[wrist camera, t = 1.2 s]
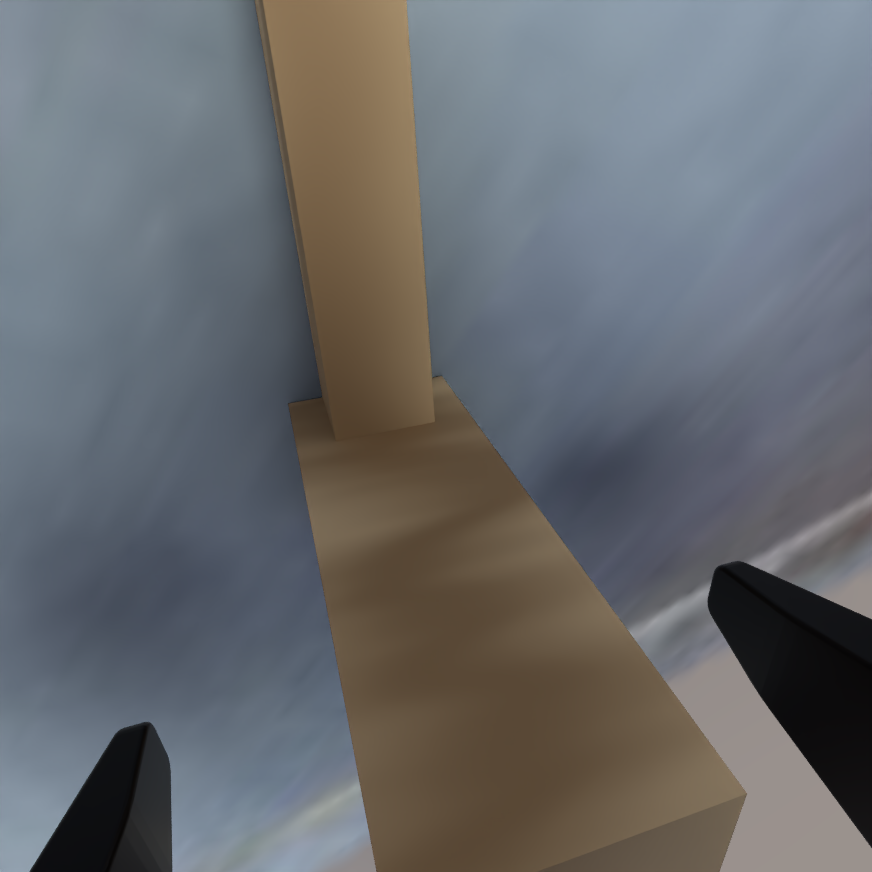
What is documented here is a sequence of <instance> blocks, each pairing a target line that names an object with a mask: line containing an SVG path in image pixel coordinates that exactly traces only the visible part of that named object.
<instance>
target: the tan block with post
mask: <svg viewBox="0 0 872 872" xmlns="http://www.w3.org/2000/svg"><path fill="white" fill-rule="evenodd" d="M255 6H256V12H257V17H258V23H259V29H260V35H261V41H262V47H263V53H264V58H265V64H266V70H267V76H268V82H269V88H270V93H271V99H272V105H273V111H274V117H275V123H276V129H277V134H278V140H279V146H280V152H281V158H282V164H283V169H284V175H285V181H286V187H287V193H288V199H289V205H290V210H291V216H292V222H293V228H294V234H295V240H296V245H297V251H298V257H299V263H300V269H301V275H302V281H303V286H304V292H305V298H306V304H307V310H308V316H309V321H310V327H311V333H312V339H313V345H314V351H315V357H316V362H317V368H318V374H319V380H320V386H321V392H322V398H316V399H311V400H305V401H300V402H294V403H289V404H288V406H289V411H290V416H291V421H292V427H293V432H294V437H295V443H296V448H297V453H298V458H299V464H300V469H301V474H302V480H303V485H304V490H305V495H306V501H307V506H308V511H309V517H310V522H311V527H312V532H313V538H314V543H315V548H316V554H317V559H318V564H319V570H320V575H321V580H322V585H323V591H324V596H325V601H326V607H327V612H328V617H329V622H330V628H331V633H332V638H333V644H334V649H335V654H336V659H337V665H338V670H339V675H340V681H341V686H342V691H343V696H344V702H345V707H346V712H347V718H348V723H349V728H350V733H351V739H352V744H353V749H354V755H355V760H356V765H357V770H358V776H359V781H360V786H361V792H362V797H363V802H364V807H365V813H366V818H367V823H368V829H369V834H370V839H371V844H372V850H373V855H374V860H375V865H376V871H377V872H719V871H720V868H721V865H722V863H723V860H724V857H725V854H726V852H727V849H728V846H729V843H730V840H731V838H732V835H733V832H734V829H735V826H736V823H737V821H738V818H739V815H740V812H741V809H742V806H743V804H744V801H745V798H746V795H747V793H746V791H745V790H744V789H743V787H742V786H741V785H740V783H739V782H738V781H737V779H736V778H735V776H734V775H733V774H732V772H731V771H730V770H729V769H728V767H727V766H726V764H725V763H724V761H723V760H722V759H721V757H720V756H719V755H718V753H717V752H716V750H715V749H714V748H713V746H712V745H711V744H710V742H709V741H708V740H707V738H706V737H705V736H704V734H703V733H702V731H701V730H700V728H699V727H698V726H697V724H696V723H695V722H694V720H693V719H692V718H691V716H690V715H689V713H688V712H687V711H686V709H685V708H684V707H683V705H682V704H681V702H680V701H679V700H678V698H677V697H676V696H675V694H674V693H673V692H672V690H671V689H670V687H669V686H668V685H667V683H666V682H665V681H664V679H663V678H662V676H661V675H660V674H659V672H658V671H657V670H656V668H655V667H654V666H653V664H652V663H651V661H650V660H649V659H648V657H647V656H646V655H645V653H644V652H643V650H642V649H641V648H640V646H639V645H638V644H637V642H636V641H635V640H634V638H633V637H632V635H631V634H630V633H629V631H628V630H627V629H626V627H625V626H624V624H623V623H622V622H621V620H620V619H619V618H618V616H617V615H616V614H615V612H614V611H613V609H612V608H611V607H610V605H609V604H608V603H607V601H606V600H605V599H604V597H603V596H602V594H601V593H600V592H599V590H598V589H597V588H596V586H595V585H594V583H593V582H592V581H591V579H590V578H589V577H588V575H587V574H586V573H585V571H584V570H583V568H582V567H581V566H580V564H579V563H578V562H577V560H576V559H575V557H574V556H573V555H572V553H571V552H570V551H569V549H568V548H567V547H566V545H565V544H564V542H563V541H562V540H561V538H560V537H559V536H558V534H557V533H556V531H555V530H554V529H553V527H552V526H551V525H550V523H549V522H548V521H547V519H546V518H545V516H544V515H543V514H542V512H541V511H540V510H539V508H538V507H537V505H536V504H535V503H534V501H533V500H532V499H531V497H530V496H529V495H528V493H527V492H526V490H525V489H524V488H523V486H522V485H521V484H520V482H519V481H518V479H517V478H516V477H515V475H514V474H513V473H512V471H511V470H510V469H509V467H508V466H507V464H506V463H505V462H504V460H503V459H502V458H501V456H500V455H499V453H498V452H497V451H496V449H495V448H494V447H493V445H492V444H491V443H490V441H489V440H488V438H487V437H486V436H485V434H484V433H483V432H482V430H481V429H480V427H479V426H478V425H477V423H476V422H475V421H474V419H473V418H472V417H471V415H470V414H469V412H468V411H467V410H466V408H465V407H464V406H463V404H462V403H461V401H460V400H459V399H458V397H457V396H456V395H455V393H454V392H453V391H452V389H451V388H450V386H449V385H448V384H447V382H446V381H445V380H444V378H443V377H442V376H439V377H433V378H432V371H431V356H430V342H429V327H428V312H427V298H426V283H425V268H424V253H423V239H422V224H421V209H420V195H419V180H418V165H417V151H416V136H415V121H414V106H413V92H412V77H411V62H410V48H409V33H408V18H407V3H406V0H255Z"/></svg>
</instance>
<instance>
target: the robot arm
mask: <svg viewBox="0 0 872 872" xmlns="http://www.w3.org/2000/svg"><path fill="white" fill-rule="evenodd" d="M708 608H709V611H710V614H711V616H712V618H713V619H714V621H715V623H716V624H717V626H718V628H719V629H720V631H721V633H722V634H723V636H724V638H725V639H726V641H727V643H728V644H729V646H730V648H731V649H732V651H733V653H734V654H735V656H736V658H737V659H738V661H739V662H740V664H741V666H742V668H743V669H744V671H745V672H746V674H747V676H748V678H749V679H750V681H751V683H752V684H753V685H754V687H755V689H756V690H757V692H758V693H759V695H760V696H761V698H762V699H763V701H764V702H765V703H766V705H767V706H768V708H769V709H770V711H771V712H772V713H773V715H774V716H775V717H776V719H777V720H778V721H779V723H780V724H781V726H782V727H783V728H784V730H785V731H786V732H787V734H788V735H789V736H790V738H791V739H792V740H793V742H794V743H795V744H796V746H797V747H798V748H799V750H800V751H801V753H802V754H803V755H804V757H805V758H806V759H807V761H808V762H809V764H810V765H811V766H812V768H813V769H814V770H815V772H816V773H817V774H818V776H819V777H820V778H821V780H822V781H823V782H824V784H825V785H826V786H827V788H828V789H829V791H830V792H831V793H832V795H833V796H834V797H835V799H836V800H837V801H838V803H839V804H840V806H841V807H842V808H843V809H844V811H845V812H846V814H847V815H848V816H849V818H850V819H851V821H852V822H853V823H854V825H855V826H856V827H857V829H858V830H859V831H860V833H861V834H862V835H863V837H864V838H865V839H866V841H867V842H868V843H869V845H870V846H871V848H872V619H870V618H868V617H865V616H863V615H861V614H859V613H857V612H854V611H852V610H850V609H847V608H845V607H843V606H841V605H839V604H836V603H834V602H832V601H830V600H827V599H825V598H823V597H821V596H819V595H816V594H814V593H812V592H810V591H807V590H805V589H803V588H801V587H798V586H796V585H794V584H792V583H789V582H787V581H785V580H783V579H781V578H778V577H776V576H774V575H772V574H769V573H767V572H765V571H763V570H760V569H758V568H756V567H754V566H751V565H749V564H747V563H744V562H741V561H735V562H731V563H727V564H723V565H720V566H718V567H717V568H716V569H715V571H714V574H713V578H712V583H711V587H710V591H709V596H708ZM30 872H172V824H171V770H170V763H169V758H168V755H167V753H166V751H165V749H164V747H163V744H162V742H161V740H160V738H159V736H158V734H157V732H156V730H155V728H154V726H153V725H152V724H151V723H149V722H144V723H140V724H136V725H133V726H129V727H125V728H123V729H121V730H119V731H118V732H117V733H116V734H115V735H114V737H113V738H112V740H111V742H110V743H109V745H108V746H107V748H106V750H105V751H104V753H103V754H102V756H101V758H100V759H99V761H98V762H97V764H96V766H95V767H94V769H93V770H92V772H91V774H90V775H89V777H88V779H87V780H86V782H85V783H84V785H83V787H82V788H81V790H80V791H79V793H78V795H77V796H76V798H75V799H74V801H73V803H72V804H71V806H70V807H69V809H68V811H67V812H66V814H65V815H64V817H63V819H62V820H61V822H60V823H59V825H58V827H57V828H56V830H55V832H54V833H53V835H52V836H51V838H50V840H49V841H48V843H47V844H46V846H45V848H44V849H43V851H42V852H41V854H40V856H39V857H38V859H37V860H36V862H35V864H34V865H33V867H32V868H31V870H30Z"/></svg>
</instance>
